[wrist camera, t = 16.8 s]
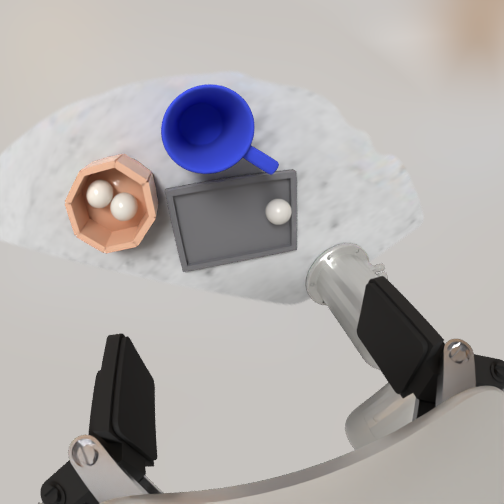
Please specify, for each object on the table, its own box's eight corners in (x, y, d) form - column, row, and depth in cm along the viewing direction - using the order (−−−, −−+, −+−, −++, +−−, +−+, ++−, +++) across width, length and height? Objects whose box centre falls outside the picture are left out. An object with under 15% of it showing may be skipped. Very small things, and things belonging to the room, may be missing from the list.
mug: (236, 181, 35) (257, 208, 27) (154, 137, 30) (144, 149, 21) (271, 129, 33) (304, 138, 24) (190, 80, 27) (194, 68, 19)
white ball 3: (285, 193, 37) (295, 202, 34) (286, 216, 39) (295, 226, 36) (261, 197, 37) (269, 206, 34) (262, 220, 38) (270, 231, 36)
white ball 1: (116, 175, 30) (101, 178, 26) (120, 203, 31) (105, 208, 28) (94, 181, 30) (78, 184, 27) (98, 207, 31) (83, 213, 28)
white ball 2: (126, 182, 30) (143, 197, 30) (127, 200, 33) (143, 216, 33) (103, 196, 28) (120, 214, 28) (106, 215, 31) (122, 231, 31)
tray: (292, 169, 36) (296, 171, 35) (293, 245, 42) (296, 249, 41) (165, 188, 33) (165, 191, 32) (182, 267, 39) (183, 272, 38)
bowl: (148, 146, 30) (143, 153, 26) (163, 224, 35) (162, 241, 31) (72, 167, 28) (57, 177, 24) (93, 239, 34) (83, 258, 29)
